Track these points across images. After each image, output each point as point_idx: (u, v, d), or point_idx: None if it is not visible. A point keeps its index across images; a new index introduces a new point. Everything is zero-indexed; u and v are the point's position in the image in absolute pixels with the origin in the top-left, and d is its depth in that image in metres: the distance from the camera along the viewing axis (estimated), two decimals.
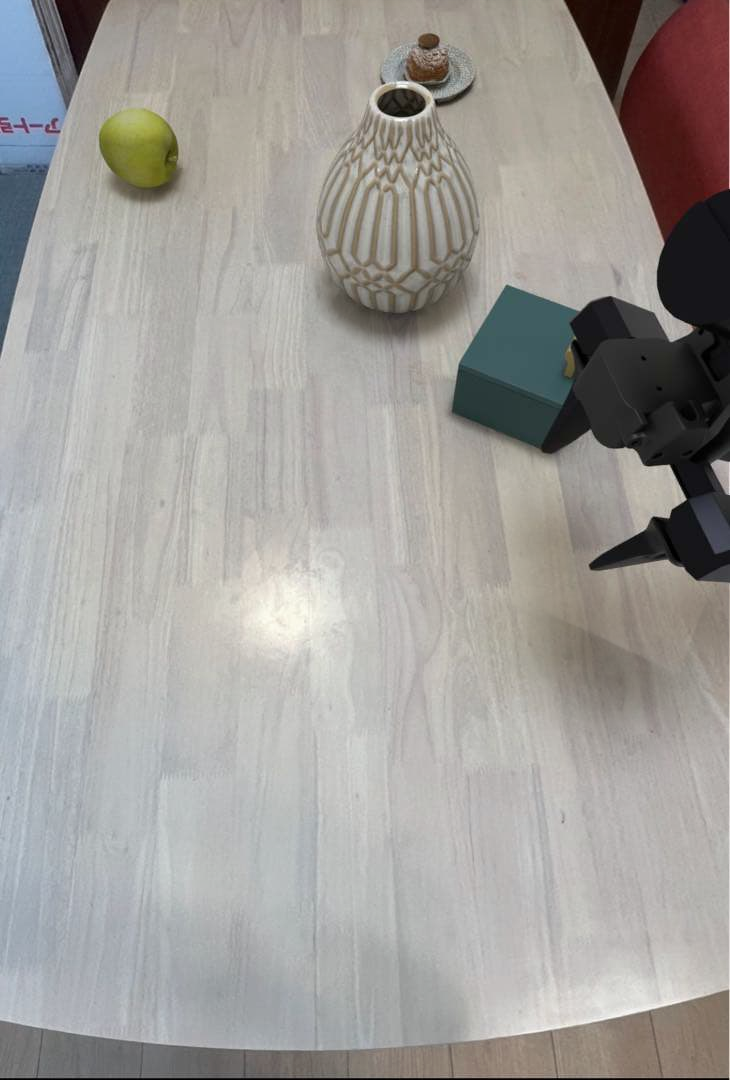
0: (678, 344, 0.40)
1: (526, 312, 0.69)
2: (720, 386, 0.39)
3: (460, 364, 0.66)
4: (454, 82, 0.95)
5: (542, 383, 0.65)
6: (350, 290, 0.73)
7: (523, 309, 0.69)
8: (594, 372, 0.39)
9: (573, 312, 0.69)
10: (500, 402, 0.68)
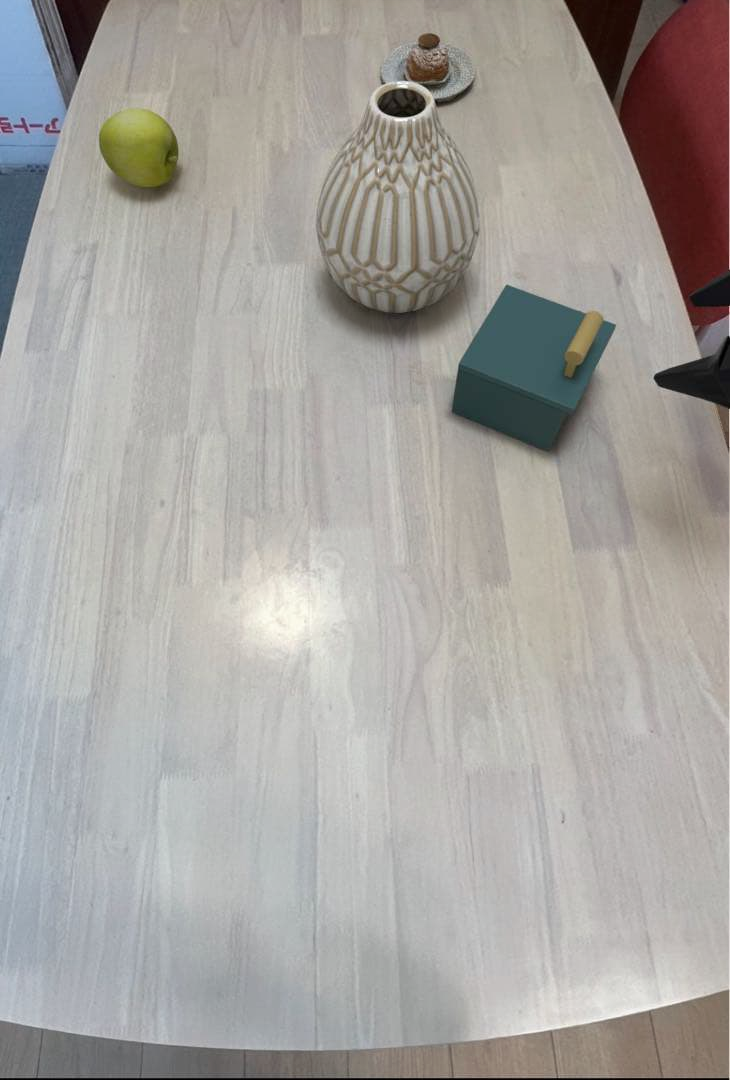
0: None
1: (526, 312, 0.69)
2: None
3: (460, 364, 0.66)
4: (454, 82, 0.95)
5: (542, 383, 0.65)
6: (351, 290, 0.73)
7: (523, 309, 0.69)
8: None
9: (573, 312, 0.69)
10: (500, 402, 0.68)
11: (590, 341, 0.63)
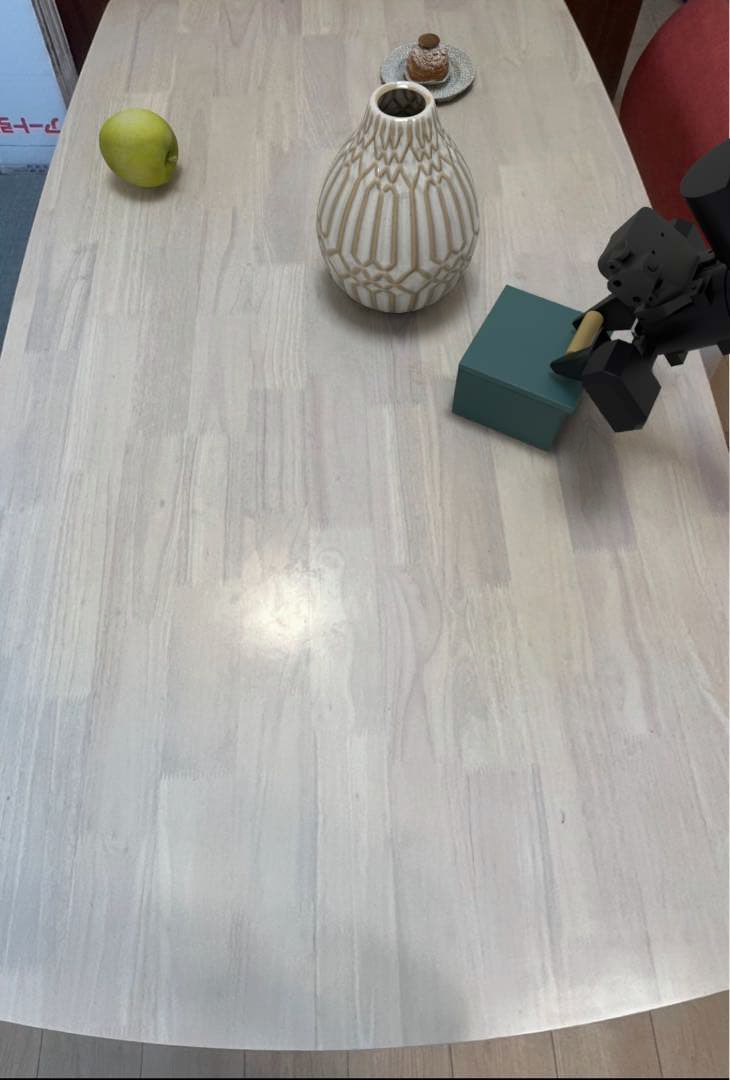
0: (692, 249, 0.55)
1: (526, 312, 0.69)
2: (690, 283, 0.53)
3: (460, 364, 0.66)
4: (454, 82, 0.95)
5: (542, 383, 0.65)
6: (351, 290, 0.73)
7: (523, 309, 0.69)
8: (628, 221, 0.54)
9: (573, 312, 0.69)
10: (500, 402, 0.68)
11: (590, 341, 0.63)
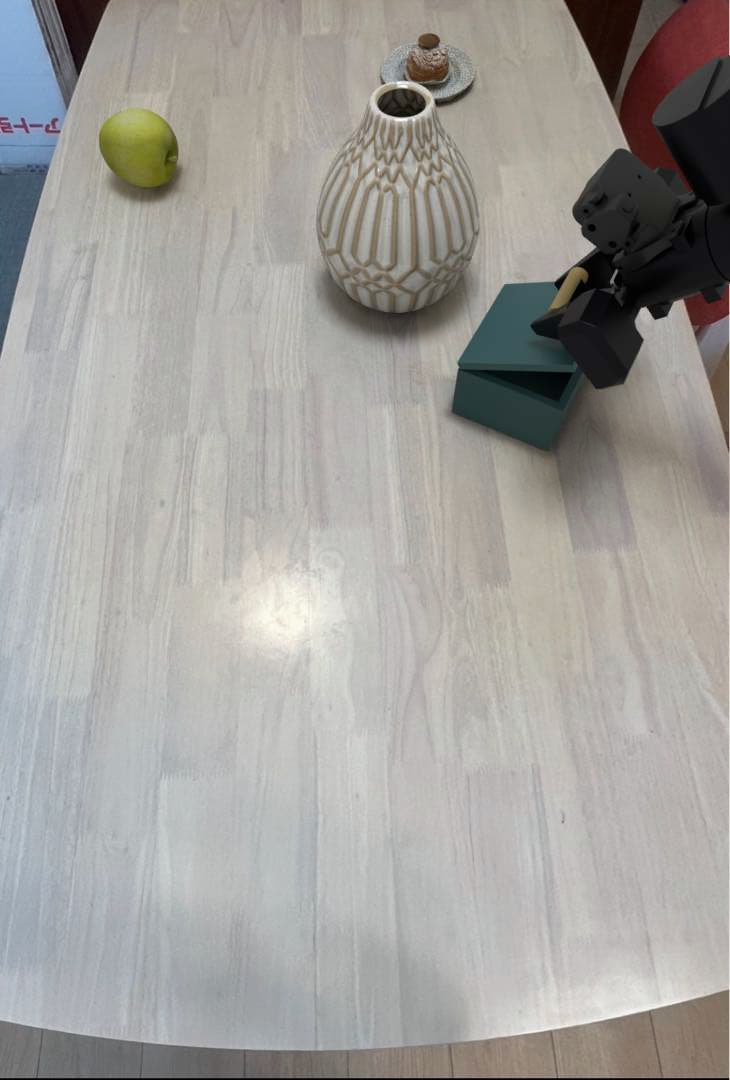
0: (672, 192, 0.52)
1: (523, 299, 0.68)
2: (669, 226, 0.51)
3: (458, 363, 0.66)
4: (454, 82, 0.95)
5: (539, 353, 0.62)
6: (351, 290, 0.73)
7: (520, 298, 0.68)
8: (603, 164, 0.52)
9: None
10: (500, 402, 0.68)
11: (571, 294, 0.60)
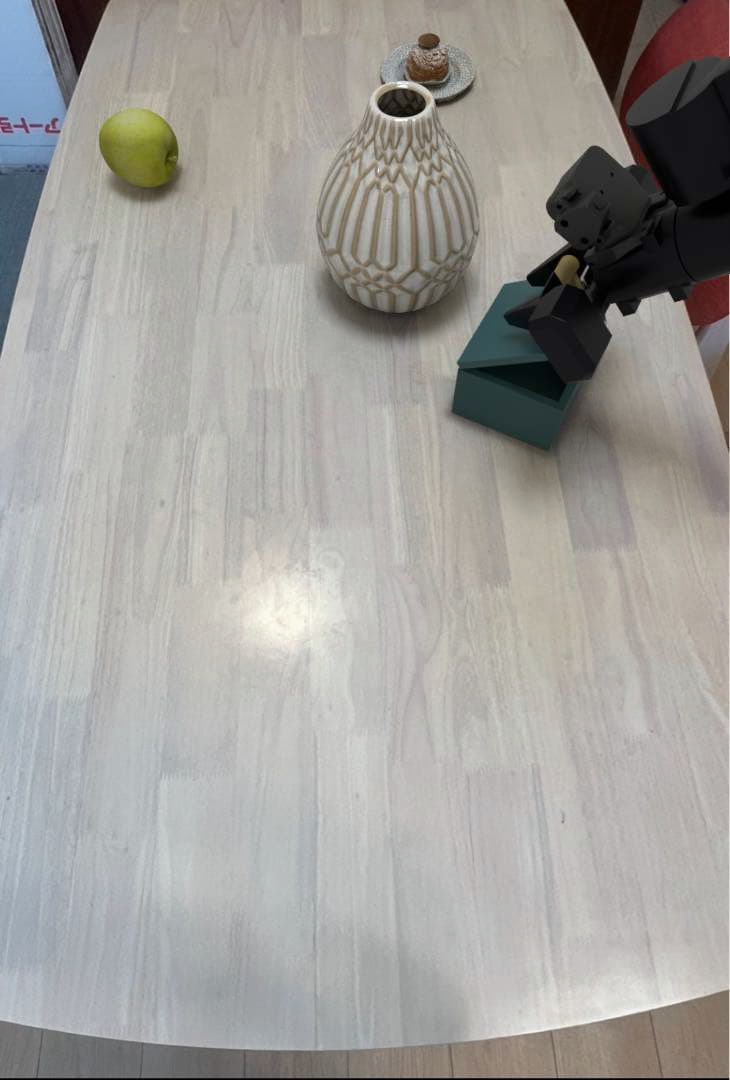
0: (643, 191, 0.53)
1: (521, 296, 0.67)
2: (640, 225, 0.52)
3: (458, 363, 0.66)
4: (454, 82, 0.95)
5: (535, 343, 0.62)
6: (351, 290, 0.73)
7: (519, 295, 0.68)
8: (577, 160, 0.52)
9: None
10: (500, 402, 0.68)
11: (561, 281, 0.60)
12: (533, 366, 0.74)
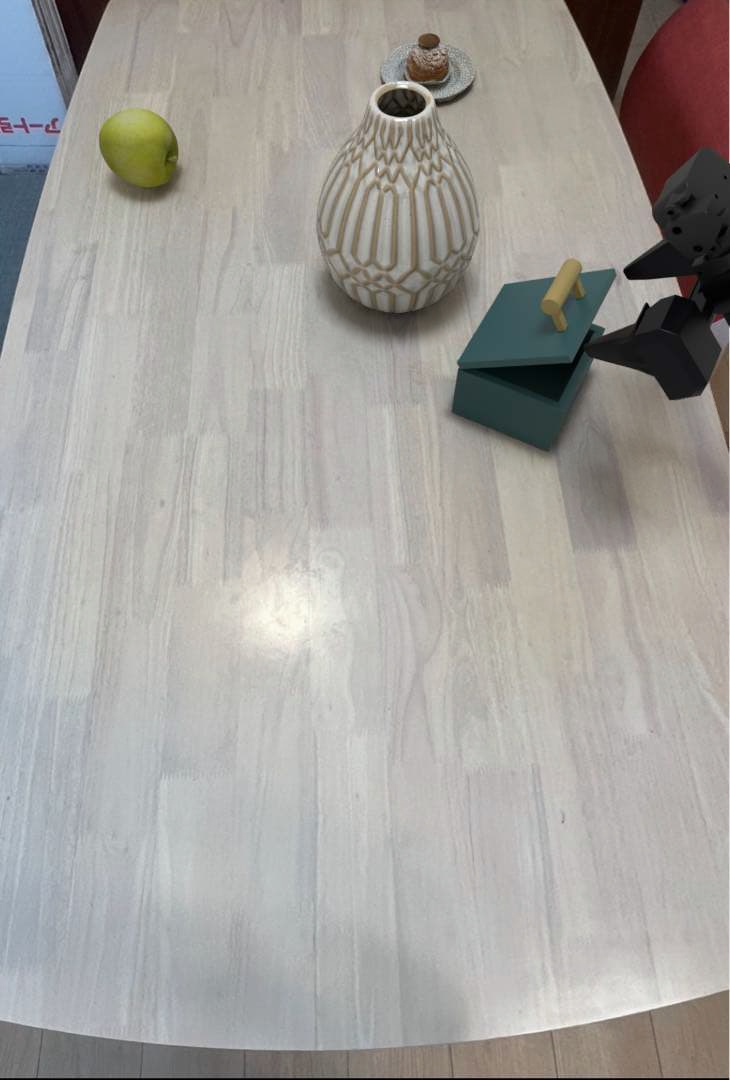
0: None
1: (522, 297, 0.67)
2: None
3: (458, 363, 0.66)
4: (454, 82, 0.95)
5: (536, 346, 0.62)
6: (351, 290, 0.73)
7: (519, 296, 0.68)
8: (687, 163, 0.49)
9: None
10: (500, 402, 0.68)
11: (565, 285, 0.60)
12: (533, 366, 0.74)
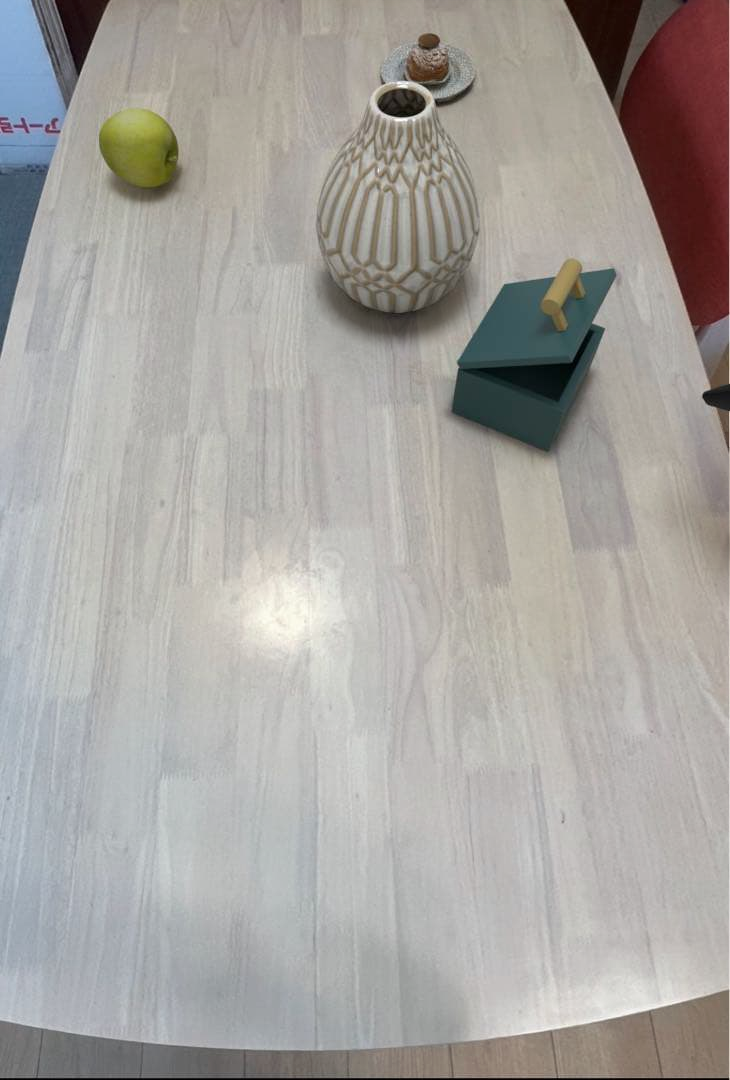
0: None
1: (522, 297, 0.67)
2: None
3: (458, 363, 0.66)
4: (454, 82, 0.95)
5: (536, 346, 0.62)
6: (351, 290, 0.73)
7: (519, 296, 0.68)
8: None
9: None
10: (500, 402, 0.68)
11: (565, 285, 0.60)
12: (533, 366, 0.74)
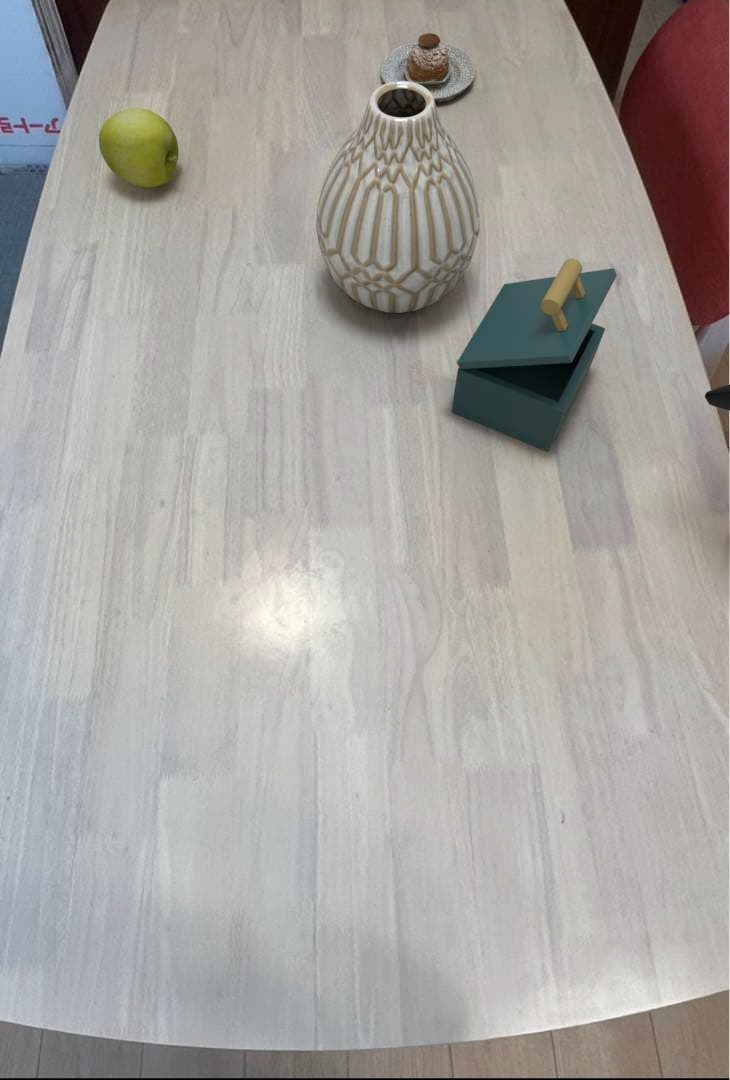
0: None
1: (522, 297, 0.67)
2: None
3: (458, 363, 0.66)
4: (454, 82, 0.95)
5: (536, 346, 0.62)
6: (351, 290, 0.73)
7: (519, 296, 0.68)
8: None
9: None
10: (500, 402, 0.68)
11: (565, 285, 0.60)
12: (533, 366, 0.74)
